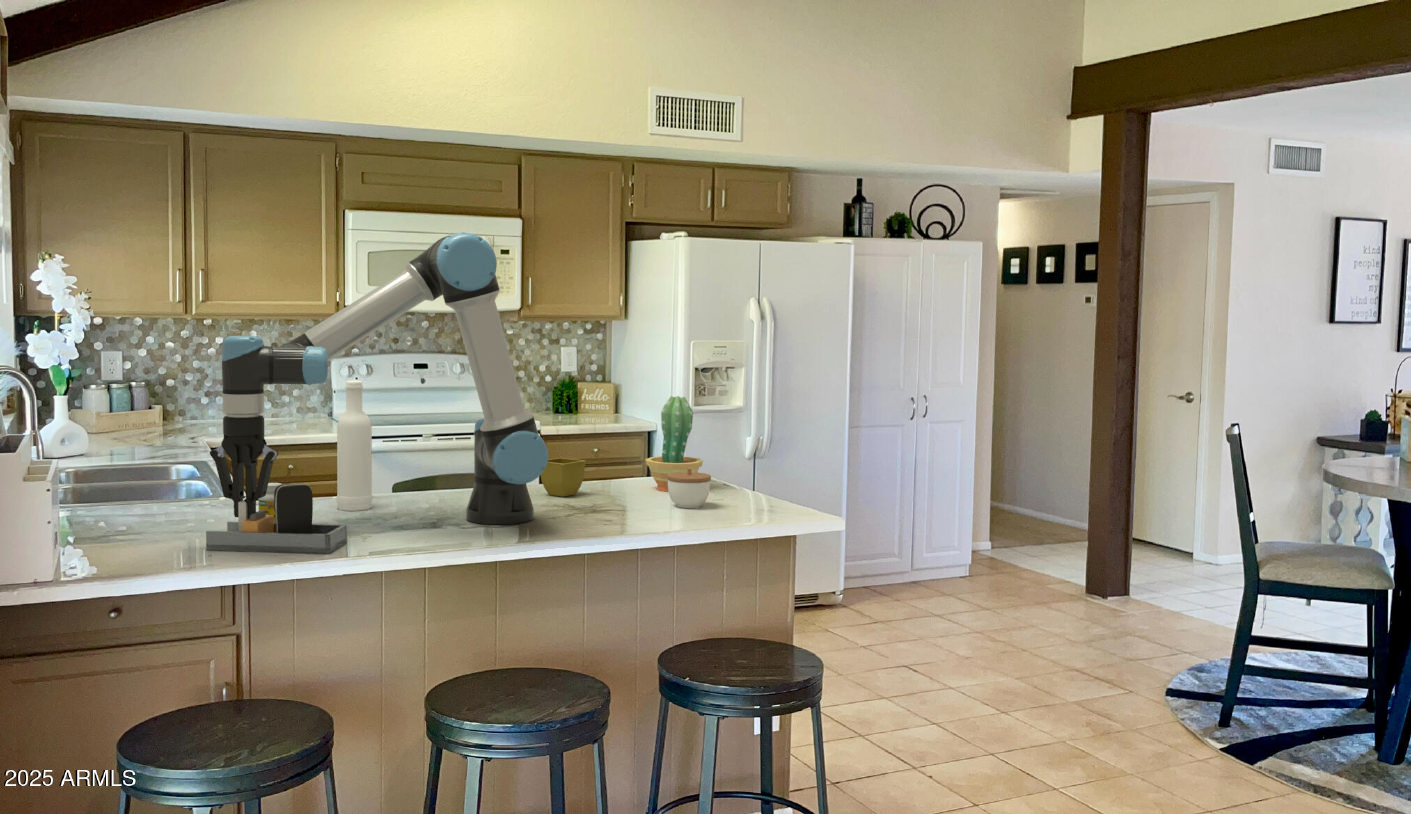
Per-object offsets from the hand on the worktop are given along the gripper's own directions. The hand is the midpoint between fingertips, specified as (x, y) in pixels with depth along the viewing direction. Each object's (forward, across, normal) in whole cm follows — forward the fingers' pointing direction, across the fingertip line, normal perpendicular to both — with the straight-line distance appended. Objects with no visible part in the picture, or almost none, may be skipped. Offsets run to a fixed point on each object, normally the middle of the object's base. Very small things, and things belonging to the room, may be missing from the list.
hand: (245, 533), depth 226 cm
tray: (+2, -6, 0) cm, 7 cm away
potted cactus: (+3, -80, -83) cm, 116 cm away
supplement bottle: (+3, +2, -17) cm, 17 cm away
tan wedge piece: (+1, -3, 0) cm, 3 cm away
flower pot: (+3, -52, -69) cm, 87 cm away
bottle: (+3, -7, -43) cm, 44 cm away
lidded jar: (+3, -85, -58) cm, 103 cm away
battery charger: (+1, -10, 0) cm, 10 cm away
